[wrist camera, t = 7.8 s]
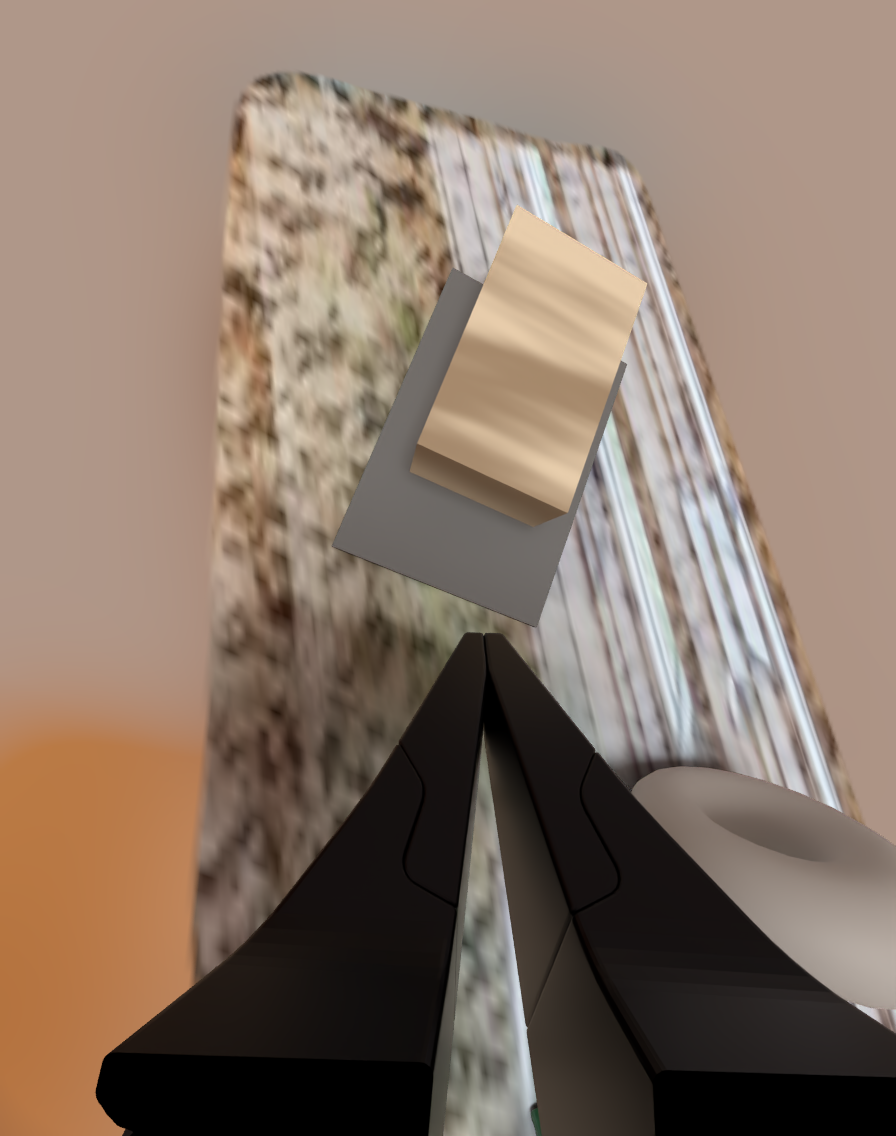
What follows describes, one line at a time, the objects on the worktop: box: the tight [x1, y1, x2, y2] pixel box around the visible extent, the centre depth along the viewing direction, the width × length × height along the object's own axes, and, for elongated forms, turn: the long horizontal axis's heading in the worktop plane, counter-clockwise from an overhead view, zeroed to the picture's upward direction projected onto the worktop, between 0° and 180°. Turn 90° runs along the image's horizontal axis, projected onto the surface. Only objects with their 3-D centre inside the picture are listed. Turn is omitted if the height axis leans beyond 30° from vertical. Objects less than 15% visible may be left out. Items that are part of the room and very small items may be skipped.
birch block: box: [410, 205, 647, 527], centre depth 17 cm, size 4×7×12 cm
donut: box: [631, 766, 896, 1009], centre depth 15 cm, size 10×4×10 cm, turn 86°
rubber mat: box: [332, 268, 627, 627], centre depth 19 cm, size 16×11×1 cm
